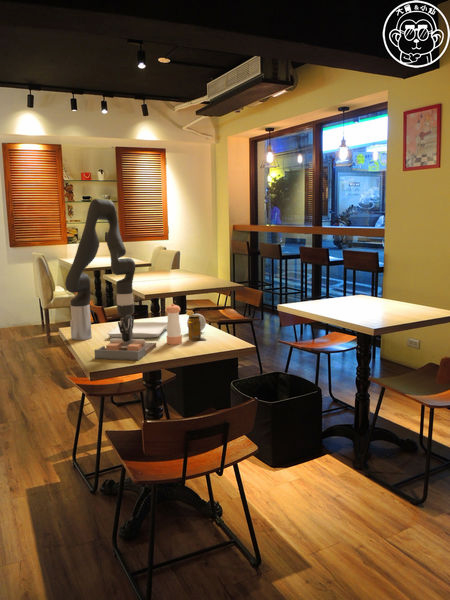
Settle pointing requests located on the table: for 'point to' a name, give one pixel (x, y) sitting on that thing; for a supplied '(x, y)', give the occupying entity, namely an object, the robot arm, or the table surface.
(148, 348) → the board
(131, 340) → the gray bar with block
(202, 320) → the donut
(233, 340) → the table surface
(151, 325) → the square plate
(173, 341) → the pepper shaker
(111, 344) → the tile left
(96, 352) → the box
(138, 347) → the tile right
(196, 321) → the condiment
